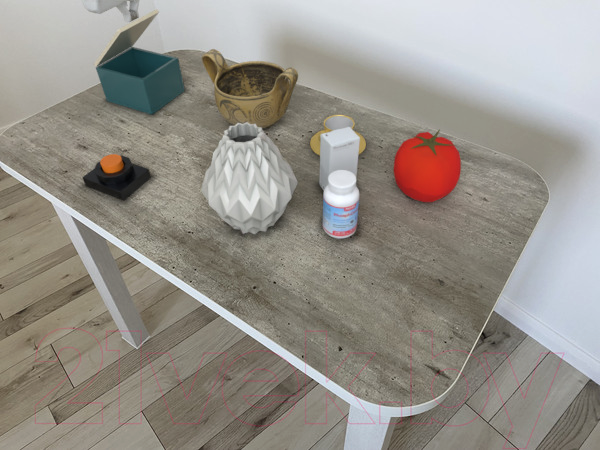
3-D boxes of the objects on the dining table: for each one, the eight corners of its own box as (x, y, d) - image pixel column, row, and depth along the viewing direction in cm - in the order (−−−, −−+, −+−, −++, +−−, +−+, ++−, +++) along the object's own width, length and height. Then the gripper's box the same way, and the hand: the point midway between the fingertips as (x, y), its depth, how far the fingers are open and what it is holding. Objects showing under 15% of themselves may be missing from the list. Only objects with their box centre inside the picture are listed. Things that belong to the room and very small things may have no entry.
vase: (233, 182, 96) (220, 99, 83) (310, 201, 91) (310, 115, 78) (191, 237, 85) (169, 151, 72) (277, 262, 80) (269, 174, 67)
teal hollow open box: (185, 90, 122) (178, 57, 116) (152, 114, 115) (143, 80, 108) (140, 78, 128) (132, 46, 121) (106, 101, 120) (95, 67, 114)
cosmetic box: (328, 198, 92) (330, 146, 83) (319, 185, 94) (319, 133, 86) (356, 189, 93) (360, 137, 85) (346, 176, 96) (349, 125, 88)
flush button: (98, 170, 94) (95, 163, 92) (113, 159, 96) (110, 152, 95) (113, 176, 92) (111, 168, 91) (128, 164, 95) (125, 157, 93)
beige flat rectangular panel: (159, 11, 110) (156, 8, 110) (120, 32, 102) (117, 29, 102) (132, 46, 121) (130, 43, 121) (96, 67, 113) (93, 64, 113)
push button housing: (85, 186, 96) (78, 170, 93) (114, 164, 101) (108, 148, 98) (123, 201, 92) (117, 184, 90) (151, 177, 97) (146, 161, 95)
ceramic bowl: (194, 128, 110) (181, 66, 99) (234, 94, 121) (227, 34, 110) (279, 153, 102) (275, 88, 92) (314, 114, 113) (314, 53, 102)
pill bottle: (335, 244, 83) (337, 195, 75) (316, 224, 87) (316, 175, 79) (363, 231, 85) (368, 181, 77) (343, 211, 89) (346, 162, 81)
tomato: (447, 169, 97) (459, 120, 89) (462, 215, 87) (476, 164, 79) (386, 170, 97) (392, 120, 89) (394, 215, 88) (402, 165, 80)
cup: (343, 123, 110) (344, 102, 106) (377, 148, 103) (379, 126, 99) (299, 140, 105) (298, 119, 102) (331, 168, 98) (332, 146, 94)
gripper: (137, -65, 105) (152, 1, 115) (64, -38, 92) (88, 34, 102) (159, -61, 103) (173, 6, 112) (88, -34, 90) (110, 39, 100)
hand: (132, 19), depth 107 cm, fingers closed
